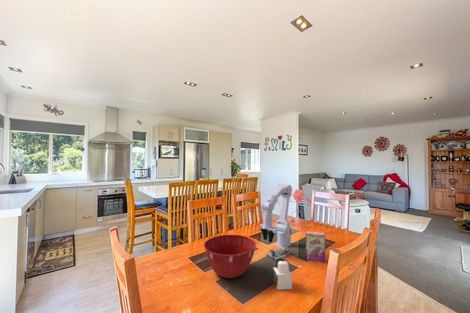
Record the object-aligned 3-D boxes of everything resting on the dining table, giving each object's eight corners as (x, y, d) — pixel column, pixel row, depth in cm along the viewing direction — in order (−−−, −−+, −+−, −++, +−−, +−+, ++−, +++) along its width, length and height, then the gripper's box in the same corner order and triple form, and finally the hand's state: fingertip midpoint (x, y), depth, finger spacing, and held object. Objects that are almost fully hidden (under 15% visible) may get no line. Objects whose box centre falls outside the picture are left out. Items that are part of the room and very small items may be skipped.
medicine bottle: (273, 281, 104) (273, 257, 105) (287, 281, 105) (286, 256, 105) (277, 290, 97) (277, 264, 97) (292, 289, 98) (291, 263, 98)
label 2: (278, 252, 139) (278, 251, 139) (286, 256, 133) (286, 255, 133) (274, 253, 137) (274, 252, 137) (281, 257, 131) (281, 256, 131)
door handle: (285, 249, 139) (285, 245, 139) (289, 251, 136) (289, 247, 136) (269, 254, 132) (269, 249, 132) (272, 256, 129) (272, 251, 129)
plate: (278, 251, 140) (278, 251, 140) (287, 257, 132) (287, 256, 132) (265, 255, 134) (265, 254, 134) (275, 260, 127) (275, 260, 127)
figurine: (309, 229, 189) (309, 190, 191) (283, 224, 205) (283, 188, 207) (315, 226, 201) (314, 189, 203) (289, 221, 217) (290, 187, 219)
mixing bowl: (238, 294, 94) (238, 259, 94) (192, 275, 109) (192, 246, 110) (264, 268, 118) (264, 240, 118) (223, 256, 133) (223, 231, 133)
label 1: (273, 253, 136) (273, 252, 136) (280, 257, 130) (280, 256, 130) (268, 254, 134) (268, 254, 134) (276, 259, 128) (276, 258, 128)
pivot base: (285, 251, 141) (285, 249, 141) (291, 254, 136) (291, 252, 136) (278, 253, 138) (278, 251, 138) (285, 256, 133) (285, 254, 133)
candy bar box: (305, 260, 128) (305, 233, 128) (305, 256, 132) (305, 230, 133) (325, 263, 124) (325, 235, 125) (324, 259, 129) (324, 232, 129)
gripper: (256, 218, 142) (256, 238, 141) (270, 223, 129) (270, 245, 129) (264, 217, 145) (264, 236, 145) (278, 222, 133) (279, 243, 132)
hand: (267, 240), depth 137 cm, fingers open, 5 cm apart
